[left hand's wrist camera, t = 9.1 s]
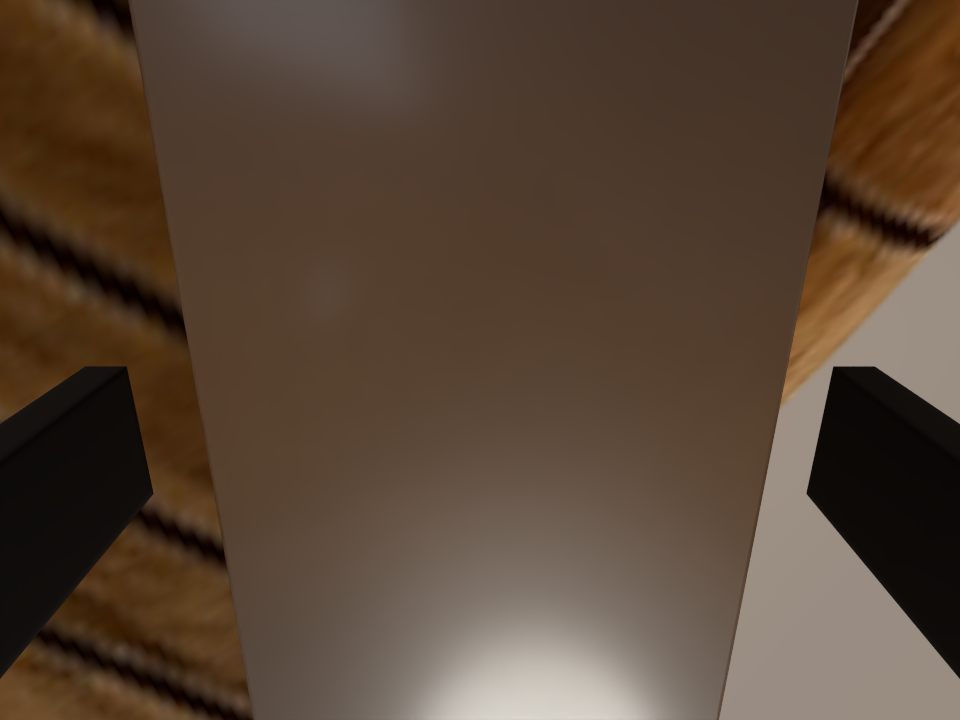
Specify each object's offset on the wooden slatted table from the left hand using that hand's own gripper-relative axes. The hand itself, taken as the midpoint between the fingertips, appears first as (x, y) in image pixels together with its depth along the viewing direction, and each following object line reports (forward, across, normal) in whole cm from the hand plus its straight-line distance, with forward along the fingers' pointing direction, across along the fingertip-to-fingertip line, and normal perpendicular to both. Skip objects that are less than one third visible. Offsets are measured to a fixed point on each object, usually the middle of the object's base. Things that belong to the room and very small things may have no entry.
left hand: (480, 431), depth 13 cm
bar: (+3, 0, -12) cm, 12 cm away
